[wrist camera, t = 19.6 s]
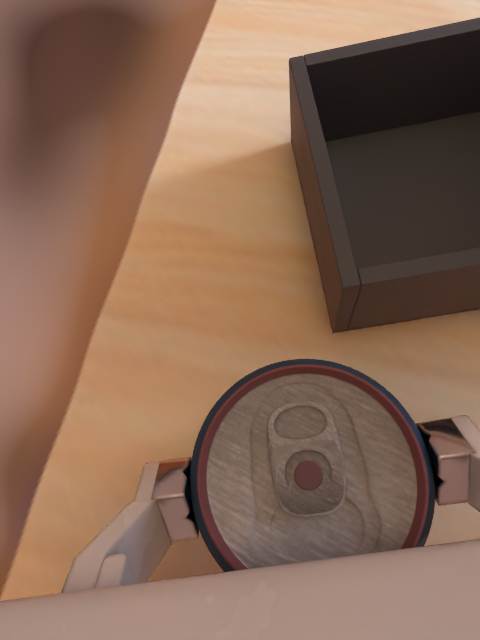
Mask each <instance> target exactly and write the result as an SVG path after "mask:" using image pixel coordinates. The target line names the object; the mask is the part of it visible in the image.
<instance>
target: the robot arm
mask: <svg viewBox="0 0 480 640" xmlns="http://www.w3.org/2000/svg"><path fill="white" fill-rule="evenodd" d="M416 426H417V428H418V430H419V432H420V434H421V436H422V438H423V441H424V443H425V446H426V448H427V451H428V454H429V458H430V461H431V466H432V470H433V476H434V486H435V500H436V502H437V503H438V505H447V504H457V503H466V502H469V504H470V505H471V506H473V507H474V508H475V509H477V510H478V511H479V512H480V431H479V429H478V428H477V427H476V426H475V424H474V423H473V422H472V420H471V419H470V418H469V417H468V416H466V415H463V416H457V417H451V418H449V419H448V418H447V419H441V420H434V421H428V422H421V423H416ZM191 461H192V458H191V457H188V458H180V459H172V460H164V461H158V462H150V463H146V464H145V465H144V466H143V470H142V473H141V477H140V481H139V484H138V488H137V492H136V495H135V499H134V502H132V503H129V504H128V505H127V506H126V507H125V508H124V509H123V510H122V511H121V512H120V513H119V514H118V515H117V516H116V517H115V518H114V519H113V520H112V521H111V522H110V523H109V524H108V525H107V526H106V527H105V528H104V529H103V530H102V531H101V532H100V533H99V534H98V535H97V536H96V537H95V538H94V539H93V540H92V541H91V542H90V543H89V544H88V545H87V546H86V547H85V548H84V549H83V550H82V551H81V552H80V553H79V554H78V555H77V556H76V557H75V558H74V560H73V562H72V565H71V568H70V570H69V573H68V575H67V578H66V581H65V583H64V586H63V589H62V591H61V593H59V594H51V595H43V596H35V597H27V598H20V599H12V600H4V601H0V640H480V539H477V540H469V541H462V542H454V543H447V544H439V545H431V546H423V547H415V548H407V549H399V550H391V551H384V552H376V553H368V554H360V555H352V556H345V557H337V558H329V559H322V560H314V561H306V562H299V563H291V564H283V565H275V566H268V567H260V568H252V569H245V570H237V571H229V572H221V573H214V574H206V575H198V576H190V577H183V578H175V579H167V580H160V581H152V582H146V581H147V580H148V578H149V577H150V575H151V574H152V572H153V571H154V570H155V568H156V567H157V565H158V564H159V562H160V561H161V559H162V558H163V556H164V555H165V553H166V552H167V550H168V549H169V547H170V546H171V542H177V541H183V540H189V539H195V538H198V536H199V528H198V525H197V522H196V519H195V515H194V511H193V506H192V500H191V491H190V470H191Z"/></svg>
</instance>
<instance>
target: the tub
mask: <svg viewBox="0 0 480 640" xmlns="http://www.w3.org/2000/svg"><path fill="white" fill-rule="evenodd" d="M289 80H290V115H291V143H292V147H293V152H294V157H295V161H296V166H297V170H298V175H299V180H300V184H301V189H302V194H303V198H304V203H305V207H306V212H307V217H308V221H309V226H310V230H311V235H312V240H313V244H314V249H315V253H316V258H317V263H318V267H319V272H320V276H321V281H322V286H323V290H324V295H325V299H326V304H327V309H328V313H329V318H330V322H331V327H332V332H333V333H336V332H342V331H349V330H355V329H361V328H367V327H373V326H379V325H385V324H391V323H397V322H403V321H409V320H416V319H422V318H428V317H434V316H440V315H446V314H452V313H458V312H464V311H470V310H476V309H480V18H476V19H471V20H466V21H462V22H457V23H452V24H448V25H443V26H438V27H433V28H429V29H424V30H419V31H415V32H410V33H405V34H401V35H396V36H391V37H386V38H382V39H377V40H372V41H368V42H363V43H358V44H354V45H349V46H344V47H339V48H335V49H330V50H325V51H321V52H316V53H311V54H306V55H304V56H298V57H294V58H290V59H289Z"/></svg>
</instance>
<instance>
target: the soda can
mask: <svg viewBox="0 0 480 640" xmlns="http://www.w3.org/2000/svg"><path fill="white" fill-rule="evenodd" d="M190 491H191V500H192V506H193V511H194V515H195V519H196V522H197V525H198V528H199V530H200V533H201V535H202V538H203V540H204V542H205V544H206V546H207V548H208V549H209V551H210V553H211V554H212V556H213V557H214V559H215V560H216V562H217V563H218V564H219V566H220V567H221V568H222V569H223V571H224V572H229V571H237V570H245V569H252V568H260V567H268V566H275V565H283V564H291V563H299V562H306V561H314V560H322V559H329V558H337V557H345V556H352V555H360V554H368V553H376V552H384V551H391V550H399V549H407V548H415V547H423V546H424V545H425V543H426V540H427V537H428V534H429V531H430V528H431V524H432V519H433V514H434V505H435V486H434V476H433V470H432V466H431V461H430V458H429V454H428V451H427V448H426V446H425V443H424V441H423V438H422V436H421V434H420V432H419V430H418V428H417V426H416V425H415V423H414V421H413V420H412V418H411V417H410V415H409V414H408V413H407V411H406V410H405V409H404V407H403V406H402V405H401V404H400V403H399V401H398V400H397V399H396V398H395V397H394V396H393V395H392V394H391V393H390V392H388V391H387V390H386V389H385V388H384V387H383V386H381V385H380V384H379V383H377V382H376V381H374V380H373V379H371V378H370V377H368V376H366V375H365V374H363V373H361V372H359V371H357V370H354V369H352V368H350V367H347V366H344V365H341V364H338V363H334V362H330V361H325V360H316V359H295V360H287V361H282V362H278V363H274V364H271V365H268V366H265V367H263V368H260V369H258V370H256V371H254V372H252V373H250V374H248V375H247V376H245V377H244V378H242V379H241V380H239V381H238V382H237V383H235V384H234V385H233V386H232V387H231V388H230V389H228V390H227V391H226V392H225V393H224V394H223V395H222V397H221V398H220V399H219V400H218V401H217V402H216V404H215V405H214V407H213V408H212V409H211V411H210V412H209V414H208V416H207V417H206V419H205V421H204V423H203V425H202V427H201V430H200V432H199V434H198V437H197V440H196V443H195V447H194V451H193V456H192V461H191V470H190Z"/></svg>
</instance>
